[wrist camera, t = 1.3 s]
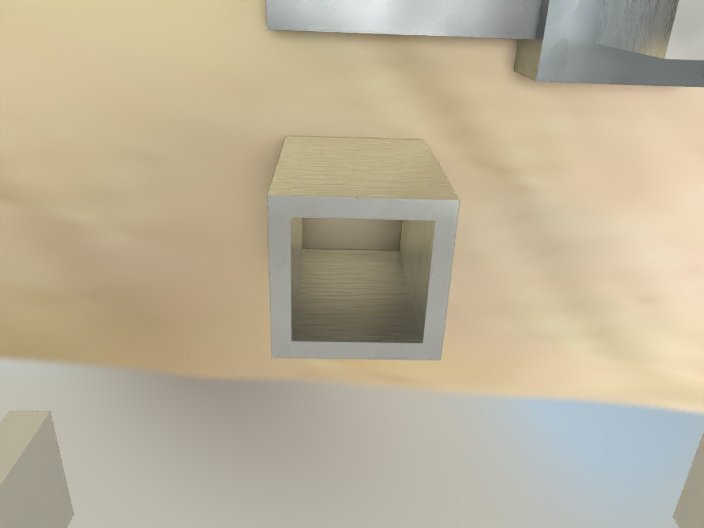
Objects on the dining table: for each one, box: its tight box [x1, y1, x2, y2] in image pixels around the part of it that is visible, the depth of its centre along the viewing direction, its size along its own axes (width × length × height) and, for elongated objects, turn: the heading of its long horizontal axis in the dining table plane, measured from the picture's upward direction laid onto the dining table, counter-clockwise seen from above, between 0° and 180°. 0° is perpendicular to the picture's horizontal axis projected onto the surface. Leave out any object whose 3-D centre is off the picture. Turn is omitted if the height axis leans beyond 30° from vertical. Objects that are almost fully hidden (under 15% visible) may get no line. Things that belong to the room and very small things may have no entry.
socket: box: [267, 136, 460, 360], centre depth 23 cm, size 6×6×8 cm
